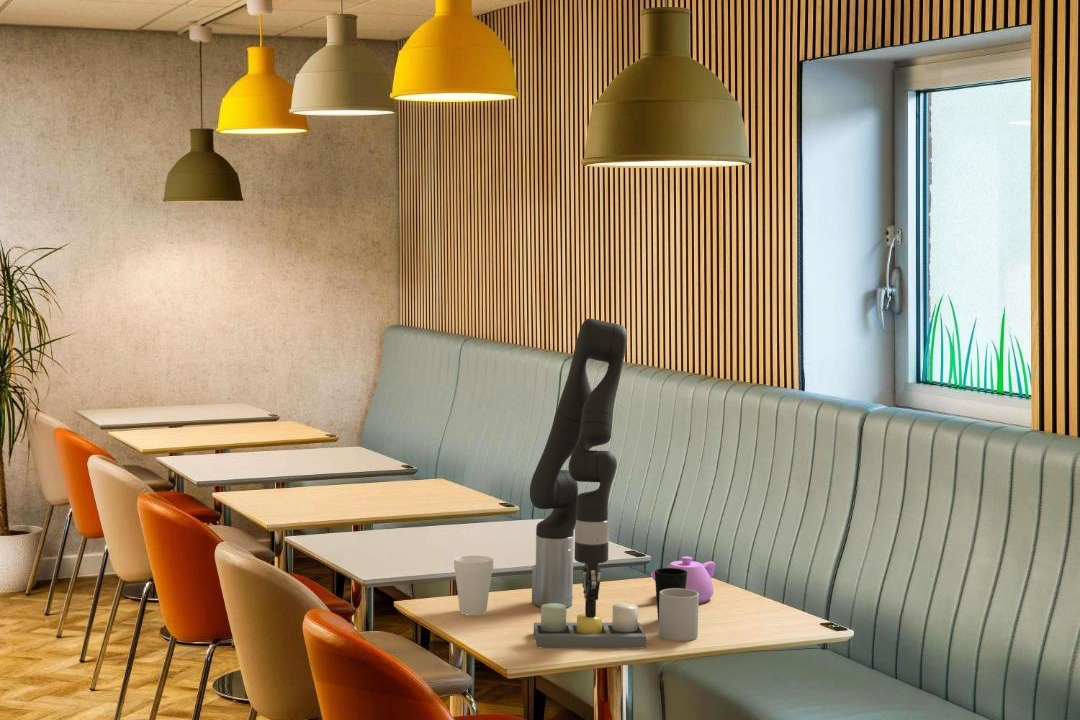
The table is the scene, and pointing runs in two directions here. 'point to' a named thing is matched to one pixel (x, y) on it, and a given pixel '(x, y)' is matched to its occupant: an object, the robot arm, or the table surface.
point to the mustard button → (589, 624)
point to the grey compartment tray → (589, 638)
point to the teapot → (696, 576)
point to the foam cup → (473, 582)
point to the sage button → (553, 617)
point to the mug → (678, 614)
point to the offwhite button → (625, 617)
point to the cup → (669, 581)
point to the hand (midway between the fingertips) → (590, 616)
